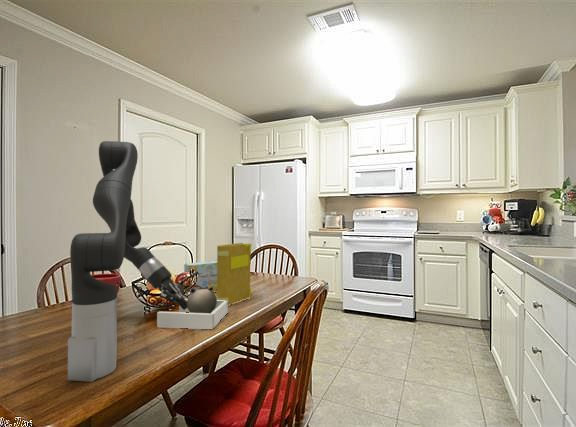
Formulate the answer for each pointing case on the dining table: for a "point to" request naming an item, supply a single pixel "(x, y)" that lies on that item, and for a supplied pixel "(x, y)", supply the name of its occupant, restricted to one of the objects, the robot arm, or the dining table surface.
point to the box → (192, 317)
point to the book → (233, 272)
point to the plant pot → (109, 279)
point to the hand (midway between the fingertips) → (186, 307)
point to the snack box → (204, 274)
